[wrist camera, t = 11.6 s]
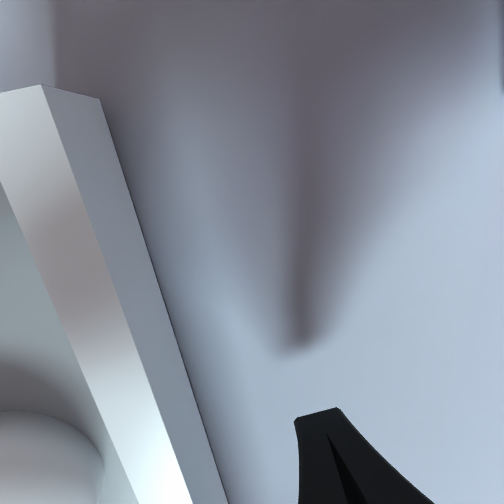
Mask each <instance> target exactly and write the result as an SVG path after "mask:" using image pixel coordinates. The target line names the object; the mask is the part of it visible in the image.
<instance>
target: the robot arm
mask: <svg viewBox="0 0 504 504" xmlns="http://www.w3.org/2000/svg"><path fill="white" fill-rule="evenodd" d="M294 425H295V430H296V435H297V439H298V449H299V499H298V504H435V503H433V502H432V501H431V500H430V499H428V498H427V497H426V496H425V495H424V494H423V493H421V492H420V491H419V490H418V489H417V488H416V487H414V486H413V485H412V484H411V483H410V482H409V481H408V480H407V479H405V478H404V477H403V476H402V475H401V474H400V473H399V472H398V471H397V470H396V469H395V468H394V467H393V466H391V465H390V464H389V463H388V462H387V461H386V460H385V459H384V458H383V457H382V456H381V455H380V454H379V453H378V452H377V451H376V450H375V449H374V448H373V447H372V446H371V445H370V443H369V442H368V441H367V440H366V439H365V438H364V437H363V436H362V435H361V434H360V433H359V432H358V430H357V429H356V428H355V427H354V426H353V425H352V423H351V422H350V421H349V420H348V419H347V417H346V416H345V415H344V414H343V412H342V411H341V410H340V409H339V408H337V407H336V408H332V409H328V410H324V411H320V412H316V413H313V414H309V415H305V416H301V417H297V418H296V419H295V421H294Z"/></svg>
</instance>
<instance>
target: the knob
mask: <svg viewBox="0 0 504 504" xmlns="http://www.w3.org/2000/svg"><path fill="white" fill-rule="evenodd" d="M104 484H105V468H104V463H103V460H102V458H101V455H100V453H99V452H98V450H97V448H96V447H95V445H94V444H93V443H92V442H91V441H90V439H88V438H87V437H86V436H85V435H84V434H83V433H82V432H80V431H79V430H78V429H76V428H75V427H73V426H71V425H69V424H68V423H66V422H64V421H61V420H59V419H57V418H54V417H51V416H48V415H44V414H40V413H34V412H27V411H1V412H0V504H100V500H101V496H102V492H103V488H104Z"/></svg>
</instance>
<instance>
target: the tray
mask: <svg viewBox="0 0 504 504" xmlns="http://www.w3.org/2000/svg"><path fill="white" fill-rule="evenodd" d="M1 411H27V412H34V413H40V414H44V415H48V416H51V417H54V418H57V419H59V420H61V421H64V422H66V423H68V424H69V425H71V426H73V427H75V428H76V429H78V430H79V431H80V432H82V433H83V434H84V435H85V436H86V437H87V438H88V439H90V441H91V442H92V443H93V444H94V445H95V447H96V448H97V450H98V452H99V453H100V455H101V458H102V460H103V463H104V468H105V484H104V488H103V492H102V496H101V500H100V504H228V502H227V499H226V495H225V492H224V489H223V486H222V483H221V480H220V477H219V473H218V470H217V467H216V464H215V461H214V458H213V455H212V451H211V448H210V445H209V442H208V439H207V436H206V433H205V430H204V426H203V423H202V420H201V417H200V414H199V411H198V408H197V404H196V401H195V398H194V395H193V392H192V389H191V386H190V382H189V379H188V376H187V373H186V370H185V367H184V364H183V360H182V357H181V354H180V351H179V348H178V345H177V342H176V338H175V335H174V332H173V329H172V326H171V323H170V320H169V316H168V313H167V310H166V307H165V304H164V301H163V298H162V294H161V291H160V288H159V285H158V282H157V279H156V276H155V272H154V269H153V266H152V263H151V260H150V257H149V254H148V250H147V247H146V244H145V241H144V238H143V235H142V232H141V228H140V225H139V222H138V219H137V216H136V213H135V210H134V206H133V203H132V200H131V197H130V194H129V191H128V188H127V184H126V181H125V178H124V175H123V172H122V169H121V166H120V162H119V159H118V156H117V153H116V150H115V147H114V144H113V140H112V137H111V134H110V131H109V128H108V125H107V122H106V118H105V115H104V112H103V109H102V106H101V103H100V100H99V99H97V98H93V97H89V96H85V95H81V94H77V93H73V92H69V91H65V90H61V89H57V88H53V87H49V86H45V85H41V84H40V85H35V86H30V87H25V88H21V89H16V90H11V91H6V92H1V93H0V412H1Z"/></svg>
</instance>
